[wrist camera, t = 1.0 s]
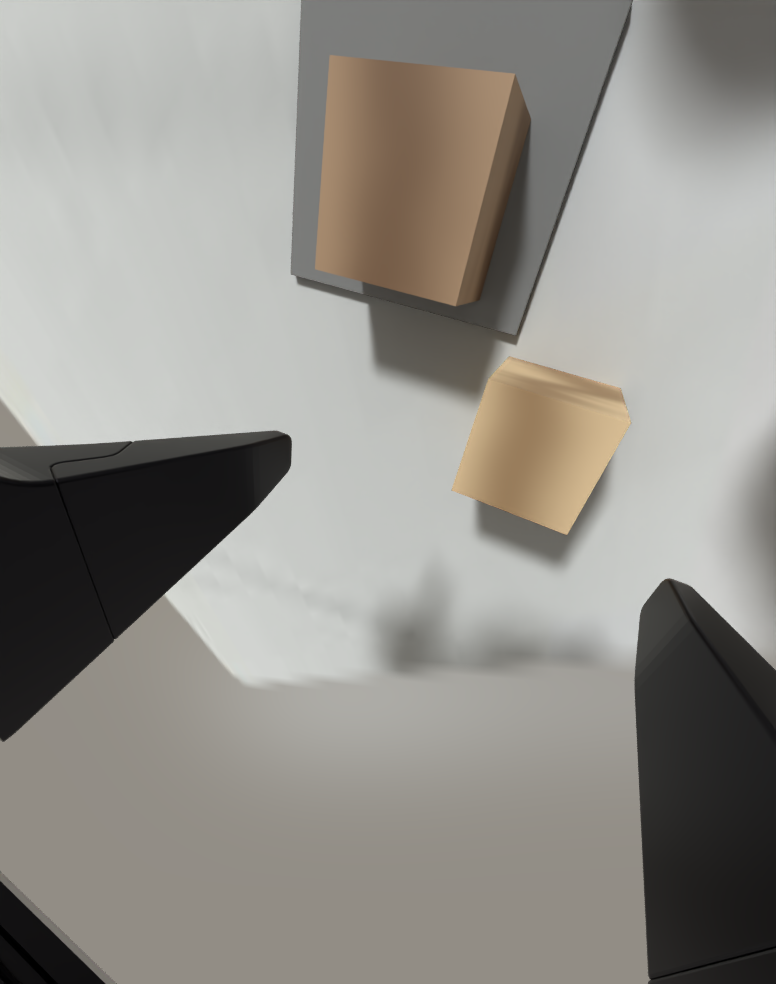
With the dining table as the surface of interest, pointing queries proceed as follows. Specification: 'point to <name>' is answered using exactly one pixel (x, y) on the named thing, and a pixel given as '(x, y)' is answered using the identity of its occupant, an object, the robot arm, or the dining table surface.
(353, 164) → the walnut block
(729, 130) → the dining table surface
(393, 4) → the slate mat
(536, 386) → the oak cube
